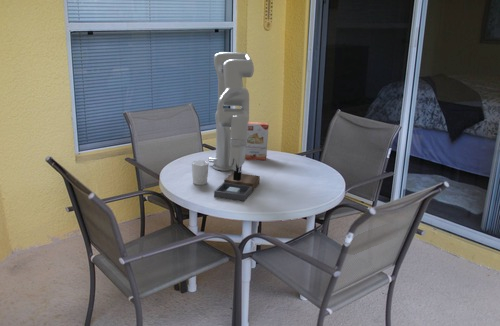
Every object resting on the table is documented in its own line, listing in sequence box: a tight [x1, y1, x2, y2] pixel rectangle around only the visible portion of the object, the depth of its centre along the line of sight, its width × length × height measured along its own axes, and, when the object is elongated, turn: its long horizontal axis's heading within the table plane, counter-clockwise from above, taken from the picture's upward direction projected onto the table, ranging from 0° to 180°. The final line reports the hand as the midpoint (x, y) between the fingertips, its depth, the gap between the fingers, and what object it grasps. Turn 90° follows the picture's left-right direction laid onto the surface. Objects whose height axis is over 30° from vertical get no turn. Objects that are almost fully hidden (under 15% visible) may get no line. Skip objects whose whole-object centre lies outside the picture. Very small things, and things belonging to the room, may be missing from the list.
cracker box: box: [245, 121, 270, 161], centre depth 276 cm, size 14×6×21 cm, turn 90°
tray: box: [213, 181, 253, 203], centre depth 223 cm, size 14×12×3 cm
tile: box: [226, 187, 240, 194], centre depth 223 cm, size 5×5×2 cm
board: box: [223, 171, 261, 193], centre depth 235 cm, size 14×12×4 cm
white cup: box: [191, 160, 210, 186], centre depth 236 cm, size 8×8×10 cm
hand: (237, 179), depth 227 cm, fingers closed
